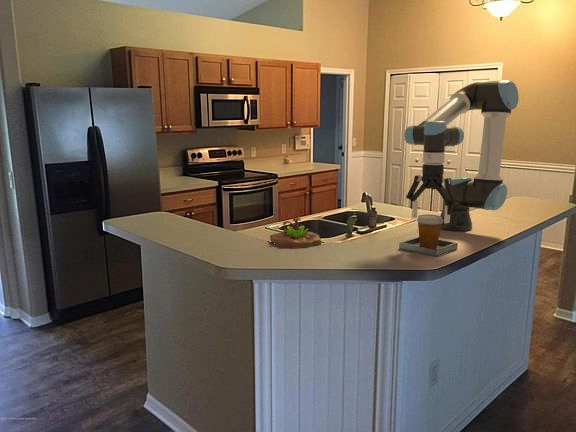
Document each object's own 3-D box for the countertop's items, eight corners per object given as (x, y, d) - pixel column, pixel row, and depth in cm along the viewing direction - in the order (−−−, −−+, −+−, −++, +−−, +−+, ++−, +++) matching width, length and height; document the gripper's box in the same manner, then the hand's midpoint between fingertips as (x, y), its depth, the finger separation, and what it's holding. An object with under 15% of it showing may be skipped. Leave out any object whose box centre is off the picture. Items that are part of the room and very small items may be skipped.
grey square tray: (421, 241, 194) (421, 235, 194) (457, 249, 183) (457, 242, 182) (399, 248, 184) (399, 242, 183) (436, 257, 172) (436, 250, 172)
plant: (281, 250, 183) (281, 221, 180) (265, 238, 201) (265, 212, 198) (328, 245, 190) (329, 218, 187) (309, 234, 208) (309, 209, 205)
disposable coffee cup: (440, 245, 186) (442, 214, 184) (441, 251, 177) (443, 219, 175) (415, 243, 189) (417, 213, 187) (415, 249, 180) (416, 218, 178)
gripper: (398, 162, 183) (396, 216, 188) (460, 166, 165) (456, 226, 170) (409, 161, 188) (407, 214, 193) (470, 165, 170) (466, 223, 175)
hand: (430, 220), depth 181 cm, fingers open, 13 cm apart
